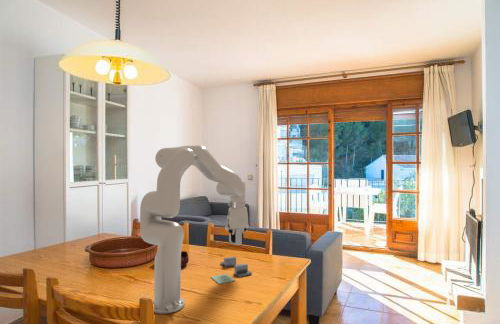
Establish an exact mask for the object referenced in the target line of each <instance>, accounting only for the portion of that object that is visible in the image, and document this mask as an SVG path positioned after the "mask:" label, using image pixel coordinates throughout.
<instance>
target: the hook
mask: <svg viewBox="0 0 500 324" xmlns="http://www.w3.org/2000/svg"><path fill="white" fill-rule="evenodd" d="M234 235H235V243H233V242H231V234H230V233H229V237H228V241H229V243H231V244H232V245H234V246H239V245H240V246H241V245H242V243H243V242H242V228H239V229H235V233H234Z"/></svg>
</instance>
